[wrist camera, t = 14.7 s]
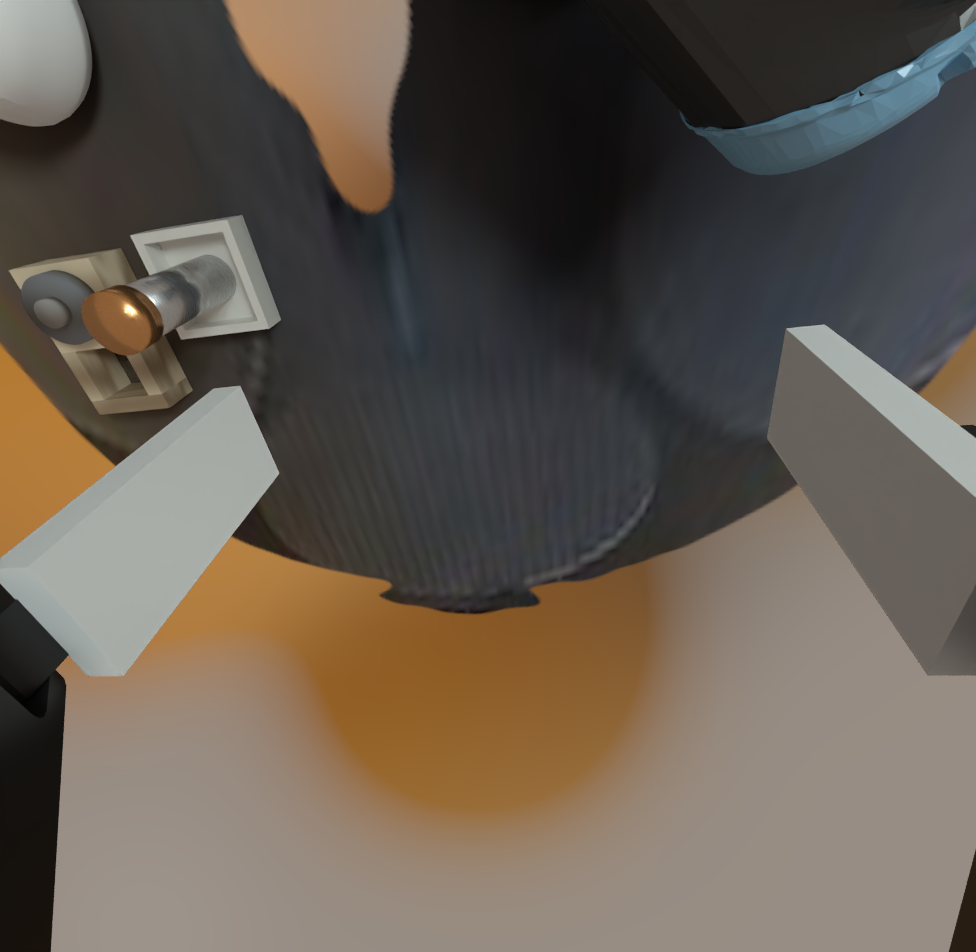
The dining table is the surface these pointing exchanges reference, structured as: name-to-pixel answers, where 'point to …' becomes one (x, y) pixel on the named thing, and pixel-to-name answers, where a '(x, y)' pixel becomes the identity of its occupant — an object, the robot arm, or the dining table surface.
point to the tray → (236, 249)
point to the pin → (156, 304)
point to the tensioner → (57, 312)
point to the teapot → (42, 60)
